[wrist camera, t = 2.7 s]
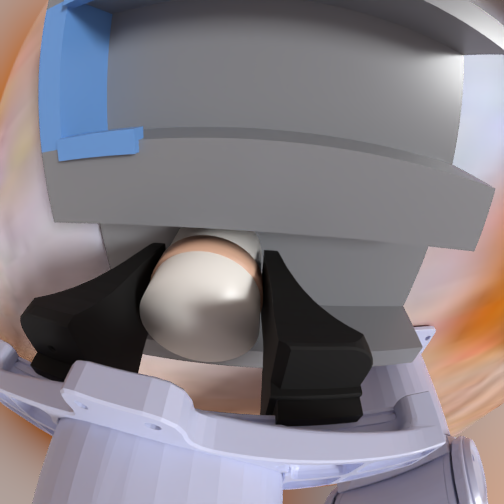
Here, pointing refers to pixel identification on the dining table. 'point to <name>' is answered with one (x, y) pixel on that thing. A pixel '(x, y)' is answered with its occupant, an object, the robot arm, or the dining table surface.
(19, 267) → the dining table surface
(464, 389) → the dining table surface
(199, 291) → the white button mushroom
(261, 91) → the grey grooved shelf
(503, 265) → the dining table surface
